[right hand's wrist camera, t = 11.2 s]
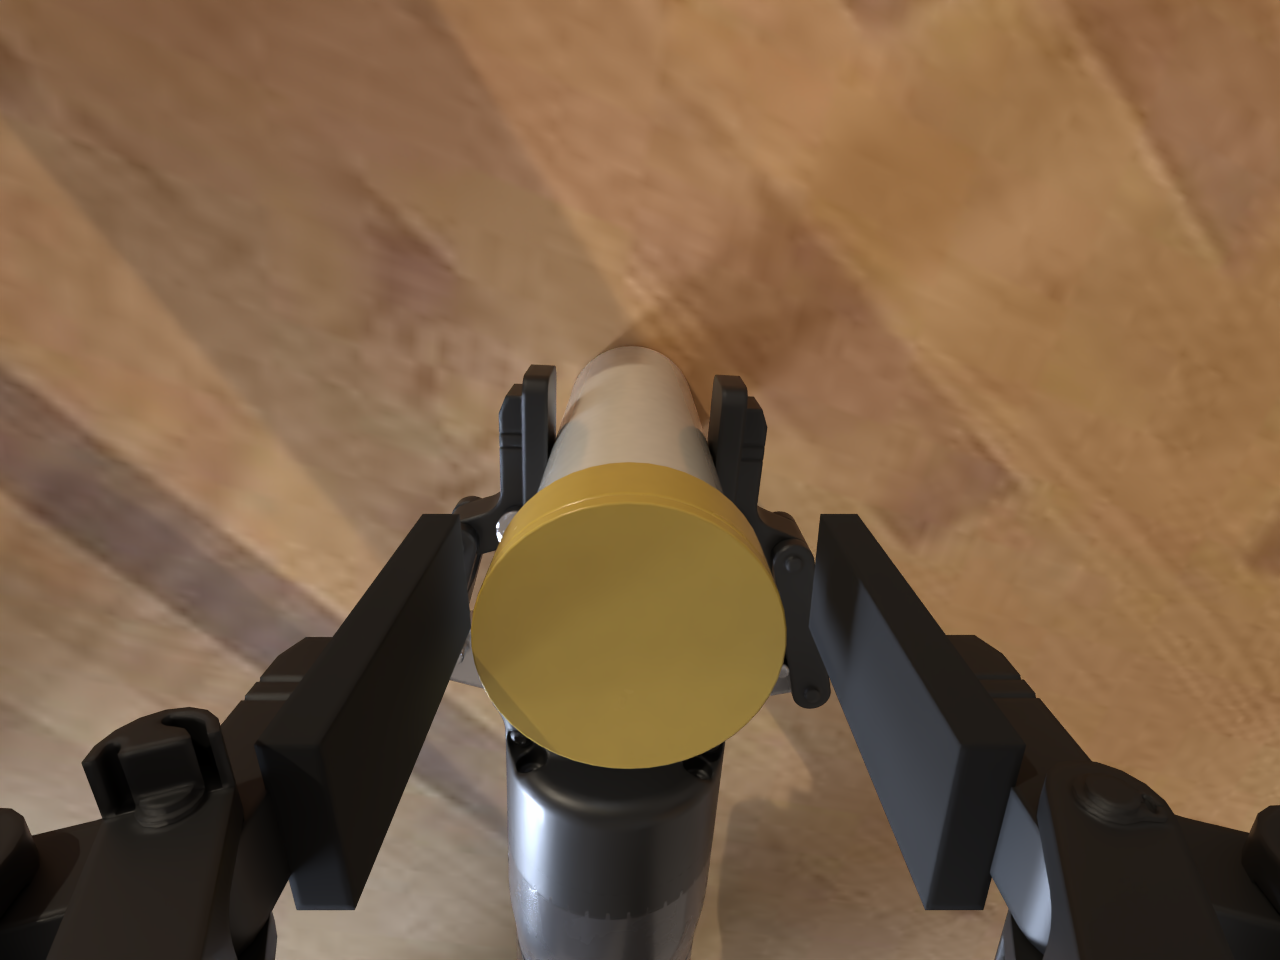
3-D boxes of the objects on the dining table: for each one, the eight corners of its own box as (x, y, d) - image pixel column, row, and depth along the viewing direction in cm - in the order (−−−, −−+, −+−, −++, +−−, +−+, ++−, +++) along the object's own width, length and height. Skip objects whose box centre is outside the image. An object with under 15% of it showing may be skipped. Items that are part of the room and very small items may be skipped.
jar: (559, 447, 27) (475, 708, 13) (586, 331, 25) (525, 483, 11) (673, 475, 27) (716, 757, 13) (707, 363, 26) (798, 548, 11)
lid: (470, 670, 14) (446, 737, 12) (522, 428, 12) (503, 466, 10) (719, 722, 15) (731, 794, 13) (805, 499, 13) (834, 546, 11)
